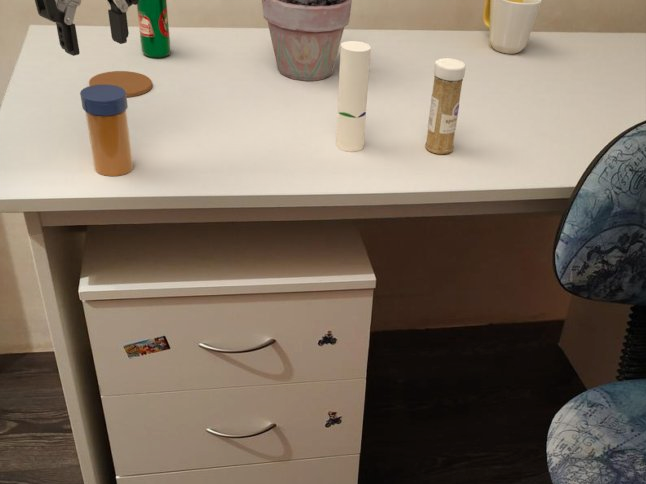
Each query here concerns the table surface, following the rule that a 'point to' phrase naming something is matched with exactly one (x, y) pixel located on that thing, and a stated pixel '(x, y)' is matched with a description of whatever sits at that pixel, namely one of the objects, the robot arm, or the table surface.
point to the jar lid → (103, 100)
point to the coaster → (124, 81)
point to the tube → (352, 95)
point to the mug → (510, 23)
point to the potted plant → (306, 35)
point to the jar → (110, 143)
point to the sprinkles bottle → (444, 105)
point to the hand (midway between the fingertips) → (96, 47)
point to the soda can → (154, 28)
